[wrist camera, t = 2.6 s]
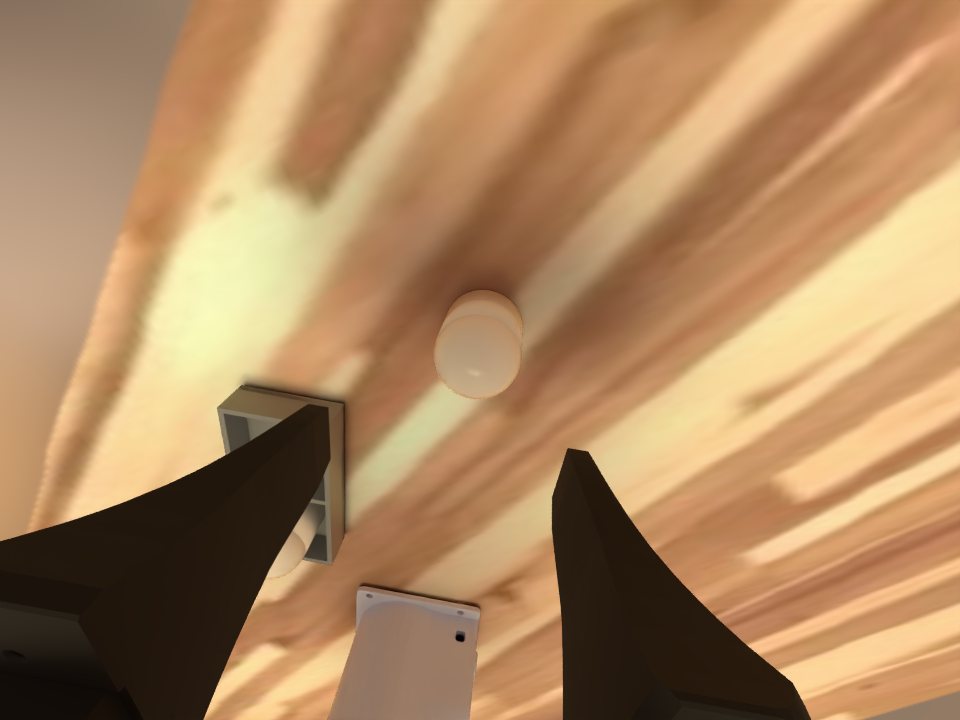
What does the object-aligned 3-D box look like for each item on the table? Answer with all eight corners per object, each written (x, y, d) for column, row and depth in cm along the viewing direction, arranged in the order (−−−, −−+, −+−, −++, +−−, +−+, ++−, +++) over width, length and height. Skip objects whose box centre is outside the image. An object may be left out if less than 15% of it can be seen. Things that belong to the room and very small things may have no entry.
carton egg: (325, 489, 27) (288, 557, 23) (326, 528, 29) (292, 598, 25) (267, 478, 27) (218, 544, 23) (271, 518, 29) (228, 587, 25)
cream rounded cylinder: (529, 297, 20) (530, 344, 16) (514, 366, 22) (511, 424, 18) (450, 283, 20) (430, 325, 16) (441, 353, 22) (421, 408, 18)
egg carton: (343, 403, 24) (327, 428, 22) (344, 537, 30) (331, 565, 28) (241, 385, 24) (216, 407, 22) (261, 521, 30) (243, 548, 28)
